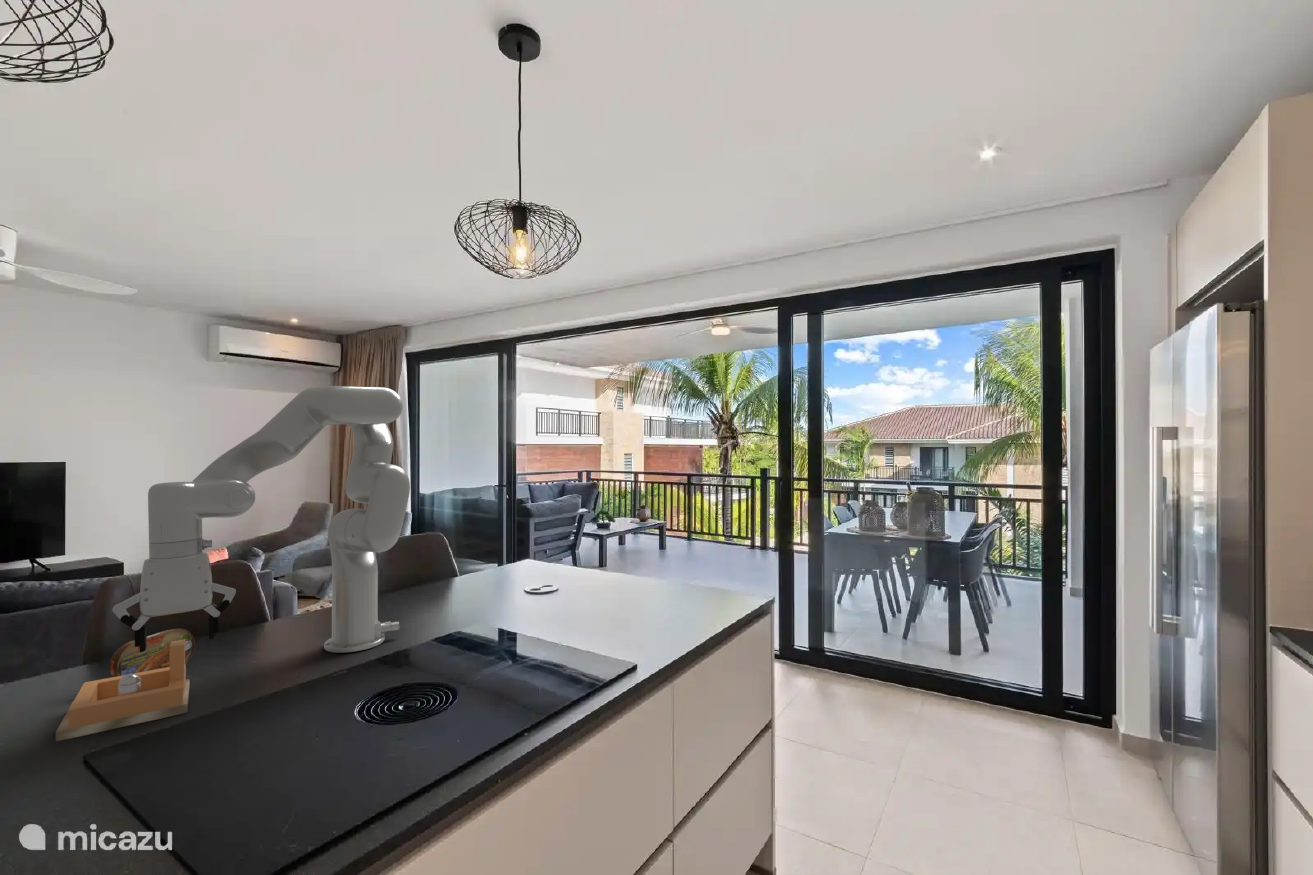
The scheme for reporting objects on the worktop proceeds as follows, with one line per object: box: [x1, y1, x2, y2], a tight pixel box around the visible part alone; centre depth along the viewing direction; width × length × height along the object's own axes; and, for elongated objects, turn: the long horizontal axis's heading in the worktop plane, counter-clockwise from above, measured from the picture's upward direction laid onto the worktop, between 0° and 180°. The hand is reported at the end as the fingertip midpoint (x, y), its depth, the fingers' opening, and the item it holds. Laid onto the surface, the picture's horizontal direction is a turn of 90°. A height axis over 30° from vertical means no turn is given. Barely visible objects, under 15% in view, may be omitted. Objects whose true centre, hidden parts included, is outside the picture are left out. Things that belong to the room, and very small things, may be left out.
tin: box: [108, 628, 196, 678], centre depth 117 cm, size 15×3×8 cm, turn 168°
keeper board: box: [55, 678, 191, 742], centre depth 101 cm, size 16×14×2 cm
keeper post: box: [118, 673, 141, 696], centre depth 101 cm, size 3×3×5 cm
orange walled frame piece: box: [68, 639, 187, 729], centre depth 101 cm, size 14×14×9 cm
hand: (178, 643), depth 105 cm, fingers open, 9 cm apart
